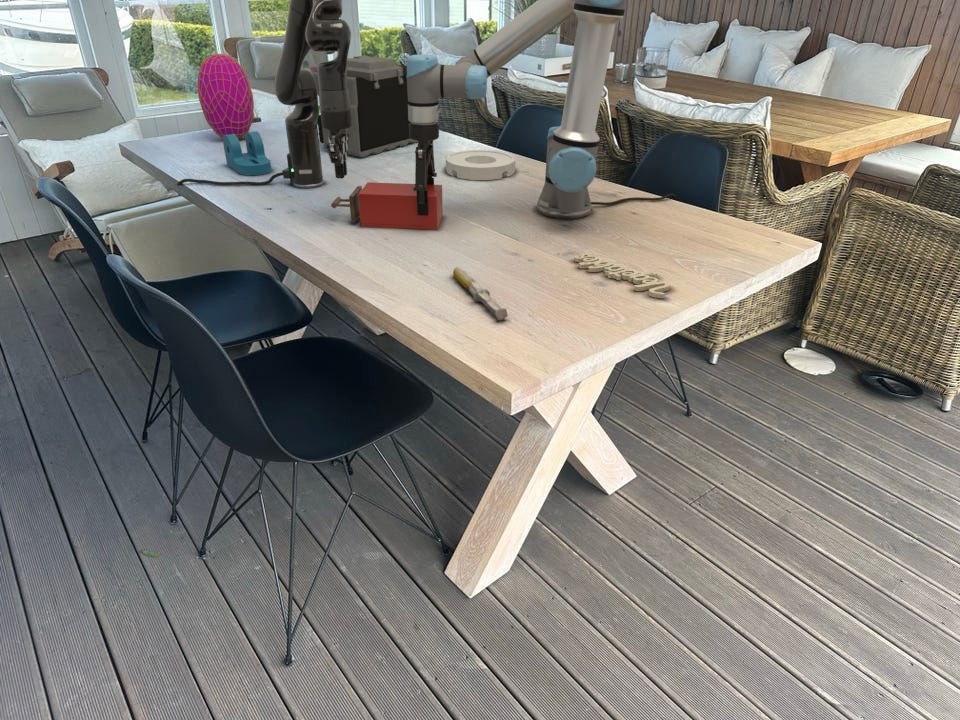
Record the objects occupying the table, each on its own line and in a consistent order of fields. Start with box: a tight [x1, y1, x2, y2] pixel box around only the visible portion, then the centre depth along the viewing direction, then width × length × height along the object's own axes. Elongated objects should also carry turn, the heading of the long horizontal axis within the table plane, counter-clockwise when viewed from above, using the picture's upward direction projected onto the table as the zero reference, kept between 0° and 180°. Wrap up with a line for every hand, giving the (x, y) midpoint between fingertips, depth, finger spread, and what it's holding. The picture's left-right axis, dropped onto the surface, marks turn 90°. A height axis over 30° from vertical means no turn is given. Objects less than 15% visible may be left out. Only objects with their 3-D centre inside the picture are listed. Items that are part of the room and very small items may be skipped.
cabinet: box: [358, 181, 444, 231], centre depth 183 cm, size 20×11×9 cm, turn 85°
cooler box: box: [311, 55, 418, 159], centre depth 250 cm, size 37×22×30 cm, turn 144°
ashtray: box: [445, 149, 516, 181], centre depth 229 cm, size 23×23×4 cm
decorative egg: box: [197, 53, 255, 140], centre depth 258 cm, size 19×19×30 cm
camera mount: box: [222, 131, 272, 176], centre depth 226 cm, size 18×10×10 cm, turn 35°
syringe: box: [452, 266, 509, 321], centre depth 145 cm, size 25×4×3 cm, turn 21°
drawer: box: [330, 185, 363, 223], centre depth 184 cm, size 25×9×7 cm, turn 85°
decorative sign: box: [574, 252, 671, 299], centre depth 155 cm, size 26×1×10 cm
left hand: (341, 176), depth 181 cm, fingers closed
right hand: (426, 208), depth 183 cm, fingers closed on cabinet, 11 cm apart
